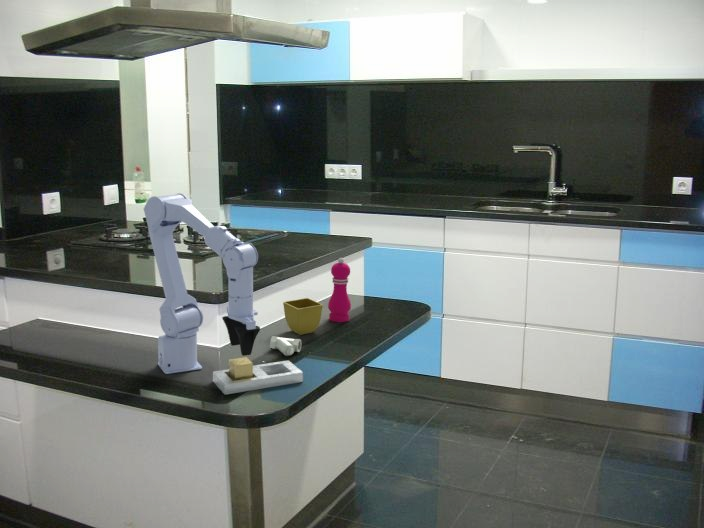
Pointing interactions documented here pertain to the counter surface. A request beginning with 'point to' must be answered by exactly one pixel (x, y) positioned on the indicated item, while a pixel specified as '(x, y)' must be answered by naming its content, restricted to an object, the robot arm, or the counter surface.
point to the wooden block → (240, 369)
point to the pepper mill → (339, 293)
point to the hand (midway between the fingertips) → (240, 349)
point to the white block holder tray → (259, 377)
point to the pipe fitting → (285, 345)
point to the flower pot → (302, 315)
